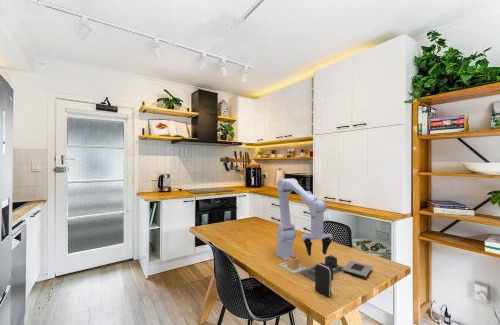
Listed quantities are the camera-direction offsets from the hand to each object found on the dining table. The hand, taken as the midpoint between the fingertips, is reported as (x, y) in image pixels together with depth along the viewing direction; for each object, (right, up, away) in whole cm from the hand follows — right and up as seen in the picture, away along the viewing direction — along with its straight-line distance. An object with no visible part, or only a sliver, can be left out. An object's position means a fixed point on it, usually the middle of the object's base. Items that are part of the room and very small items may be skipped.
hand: (316, 254), depth 110 cm
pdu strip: (+4, -10, +2) cm, 11 cm away
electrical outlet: (+21, -10, +4) cm, 24 cm away
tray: (-10, -10, +6) cm, 15 cm away
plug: (-10, -9, +6) cm, 15 cm away
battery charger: (-1, -10, -15) cm, 18 cm away
